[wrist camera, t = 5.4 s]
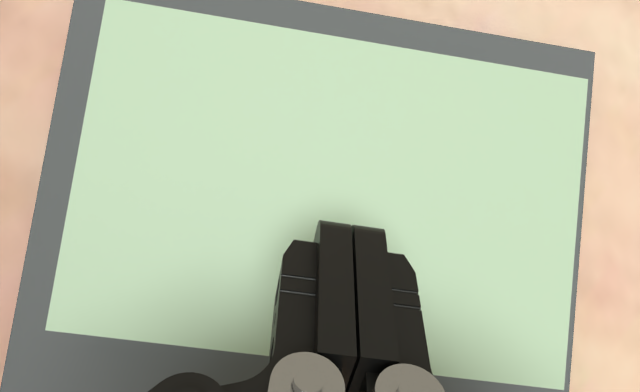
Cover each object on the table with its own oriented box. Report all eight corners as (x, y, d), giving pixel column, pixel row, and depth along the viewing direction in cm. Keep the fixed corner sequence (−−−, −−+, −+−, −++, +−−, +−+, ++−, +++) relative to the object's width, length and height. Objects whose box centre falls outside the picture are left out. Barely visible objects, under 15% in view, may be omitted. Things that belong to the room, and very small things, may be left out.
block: (45, 330, 15) (106, -3, 16) (82, 317, 18) (130, 40, 19) (563, 390, 16) (587, 79, 17) (513, 368, 19) (536, 106, 20)
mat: (-6, 460, 18) (-15, 467, 17) (86, -29, 20) (81, -38, 19) (549, 512, 20) (558, 520, 19) (585, 58, 21) (594, 52, 21)
